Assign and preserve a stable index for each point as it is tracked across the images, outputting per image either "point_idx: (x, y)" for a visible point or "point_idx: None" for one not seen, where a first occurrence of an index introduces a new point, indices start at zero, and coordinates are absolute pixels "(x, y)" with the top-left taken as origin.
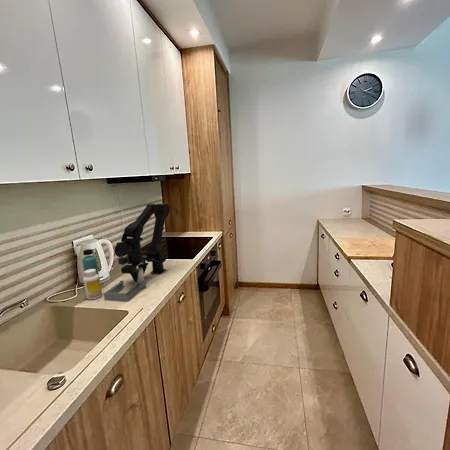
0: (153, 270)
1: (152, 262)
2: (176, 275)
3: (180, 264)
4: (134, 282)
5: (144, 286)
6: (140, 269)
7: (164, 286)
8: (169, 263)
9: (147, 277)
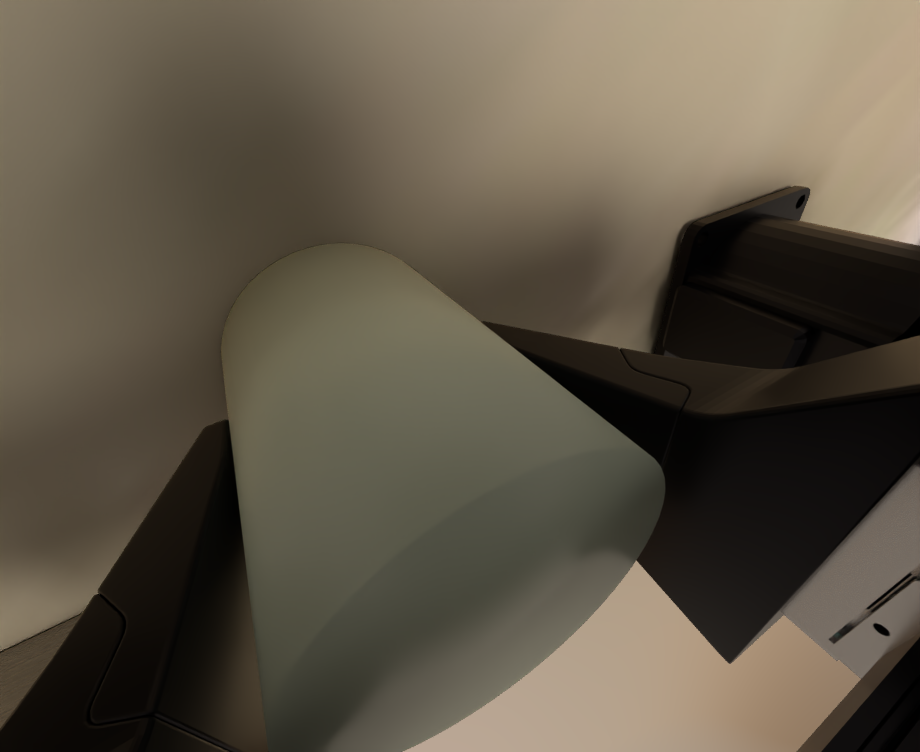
0: (710, 315)
1: (909, 328)
2: None
3: None
4: (225, 364)
5: None
6: (539, 637)
7: None
8: (879, 219)
9: (557, 299)
